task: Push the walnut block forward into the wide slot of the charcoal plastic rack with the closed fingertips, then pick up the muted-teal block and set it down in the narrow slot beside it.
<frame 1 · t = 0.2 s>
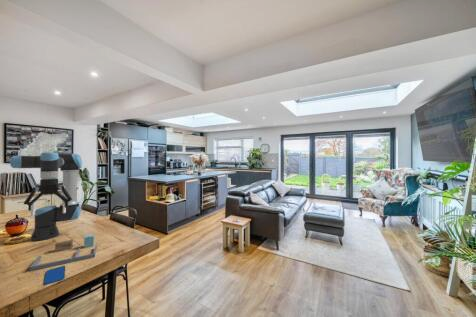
hand: (48, 214, 110), 27 cm above the table, fingers open, 13 cm apart
teal block: (89, 245, 129), on the table
slot rack: (67, 258, 113), on the table
smartphone: (55, 276, 96), on the table
walnut block: (64, 249, 124), on the table
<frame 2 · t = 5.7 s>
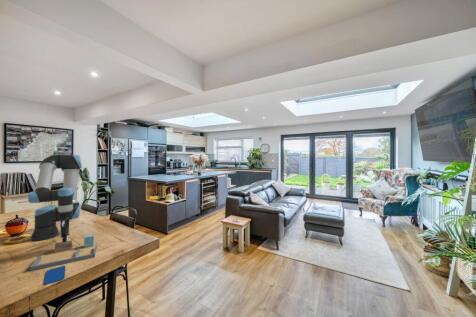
hand: (64, 245, 125), 2 cm above the table, fingers closed
walnut block: (63, 250, 123), on the table, touching gripper
everything else where it was.
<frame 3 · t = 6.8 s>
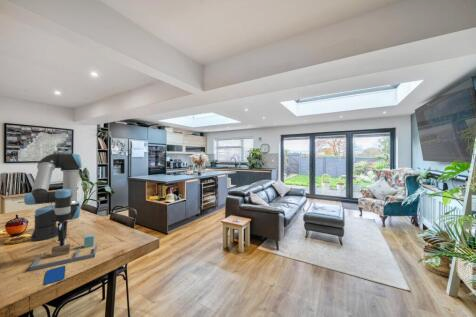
hand: (62, 249, 120), 2 cm above the table, fingers closed
walnut block: (61, 254, 118), on the table, touching gripper
everything else where it was.
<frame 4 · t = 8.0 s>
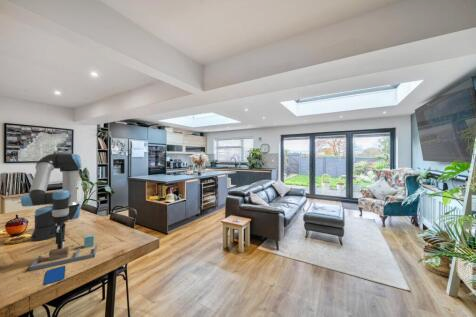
hand: (60, 253, 116), 1 cm above the table, fingers closed
walnut block: (59, 257, 114), on the table, touching gripper
everything else where it was.
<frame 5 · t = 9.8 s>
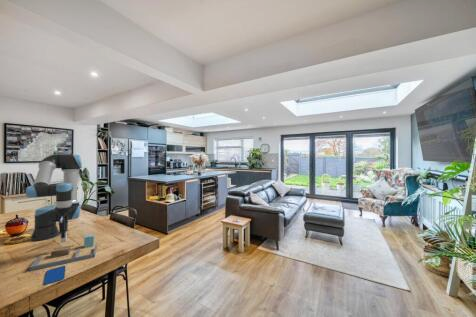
hand: (63, 242, 123), 5 cm above the table, fingers closed
walnut block: (59, 253, 115), point 2 cm above the table, tilted 90°
everything else where it was.
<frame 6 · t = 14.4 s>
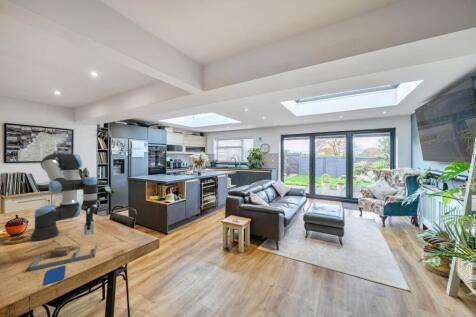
hand: (89, 232, 130), 9 cm above the table, fingers closed on teal block, 5 cm apart
teal block: (89, 233, 130), point 9 cm above the table, touching gripper
when the fingers open (1 cm above the table, at t = 17.9 s): teal block stays where it is, resting in slot rack.
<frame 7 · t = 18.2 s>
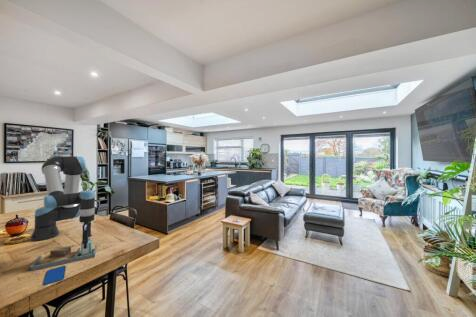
hand: (86, 250, 119), 2 cm above the table, fingers open, 8 cm apart
teal block: (86, 253, 119), resting in slot rack
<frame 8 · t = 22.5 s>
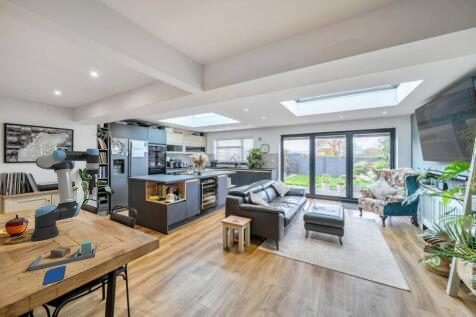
hand: (92, 197, 139), 32 cm above the table, fingers open, 13 cm apart
at the end: walnut block inside the target area (5.7 cm from its centre), point 1.7 cm above the table; teal block inside the target area (1.5 cm from its centre), resting in slot rack; teal block tilted 0° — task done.
